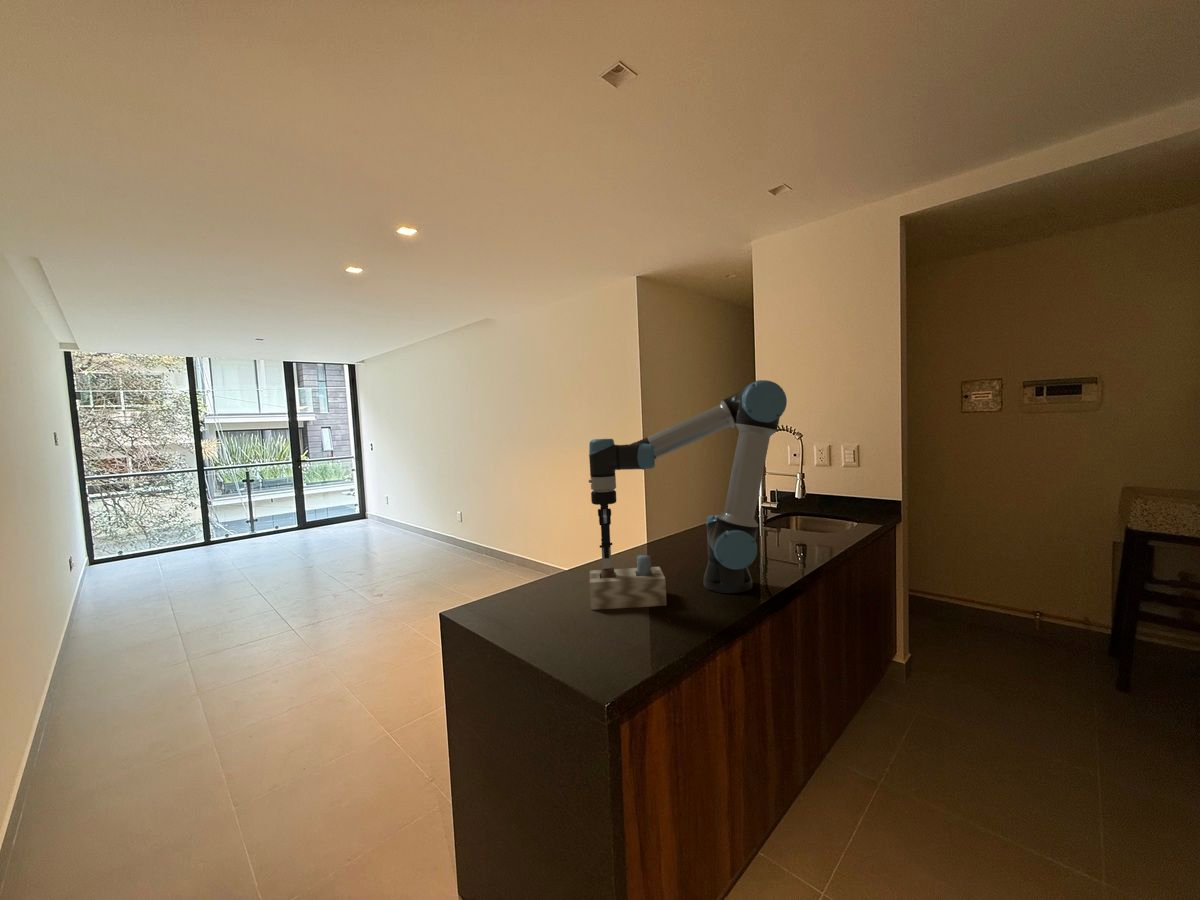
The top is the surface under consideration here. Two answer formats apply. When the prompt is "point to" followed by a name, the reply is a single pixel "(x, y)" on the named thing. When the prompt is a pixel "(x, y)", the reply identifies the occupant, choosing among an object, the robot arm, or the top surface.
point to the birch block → (627, 589)
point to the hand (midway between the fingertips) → (607, 567)
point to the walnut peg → (607, 573)
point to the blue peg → (643, 565)
